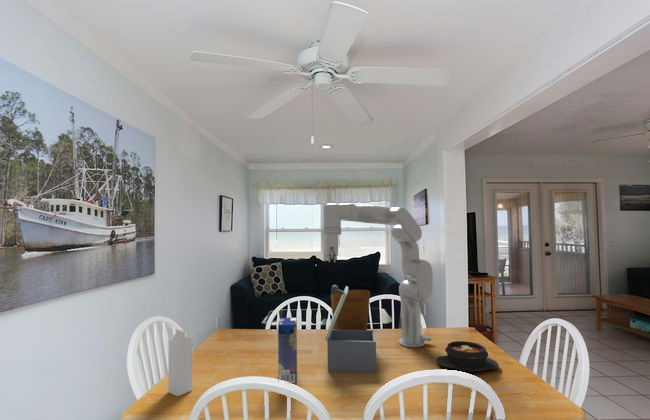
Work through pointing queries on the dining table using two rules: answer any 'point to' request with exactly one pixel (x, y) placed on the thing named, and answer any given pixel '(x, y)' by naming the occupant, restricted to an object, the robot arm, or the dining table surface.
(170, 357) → the milk
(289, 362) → the beverage box
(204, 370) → the dining table surface
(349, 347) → the storage box
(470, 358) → the casserole
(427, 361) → the dining table surface
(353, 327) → the pancake mix bag
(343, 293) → the lid
